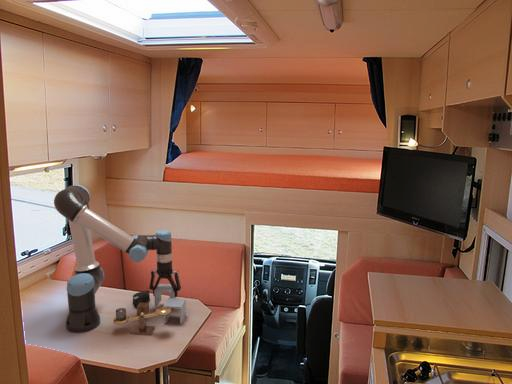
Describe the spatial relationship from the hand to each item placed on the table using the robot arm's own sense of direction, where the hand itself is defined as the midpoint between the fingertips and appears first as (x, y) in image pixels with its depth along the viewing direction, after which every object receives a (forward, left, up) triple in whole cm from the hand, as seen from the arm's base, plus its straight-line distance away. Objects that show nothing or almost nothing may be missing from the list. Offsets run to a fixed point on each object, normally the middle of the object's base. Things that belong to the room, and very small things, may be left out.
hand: (165, 302), depth 208 cm
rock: (-15, +5, -4) cm, 16 cm away
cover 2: (+8, -11, -3) cm, 14 cm away
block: (-8, -11, -3) cm, 14 cm away
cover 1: (0, 0, -1) cm, 1 cm away
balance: (-4, -23, -3) cm, 24 cm away
